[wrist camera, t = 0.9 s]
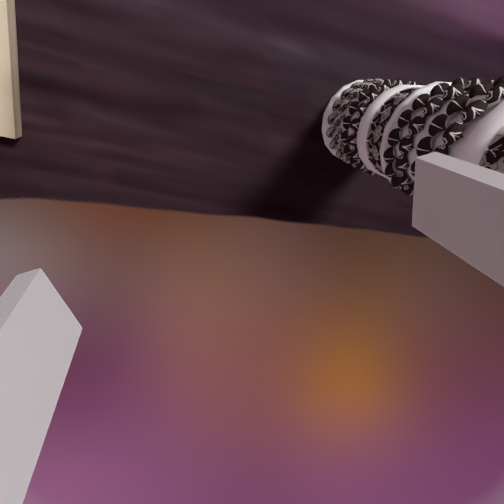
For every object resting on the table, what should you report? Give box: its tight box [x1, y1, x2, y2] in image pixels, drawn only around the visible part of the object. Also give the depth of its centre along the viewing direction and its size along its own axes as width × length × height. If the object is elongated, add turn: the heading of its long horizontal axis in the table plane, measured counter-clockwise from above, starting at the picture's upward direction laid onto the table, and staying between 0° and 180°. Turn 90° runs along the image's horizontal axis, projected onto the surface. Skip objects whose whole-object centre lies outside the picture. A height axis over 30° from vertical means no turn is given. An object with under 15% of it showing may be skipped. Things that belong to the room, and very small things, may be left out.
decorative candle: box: [321, 76, 504, 196], centre depth 25 cm, size 9×9×25 cm
